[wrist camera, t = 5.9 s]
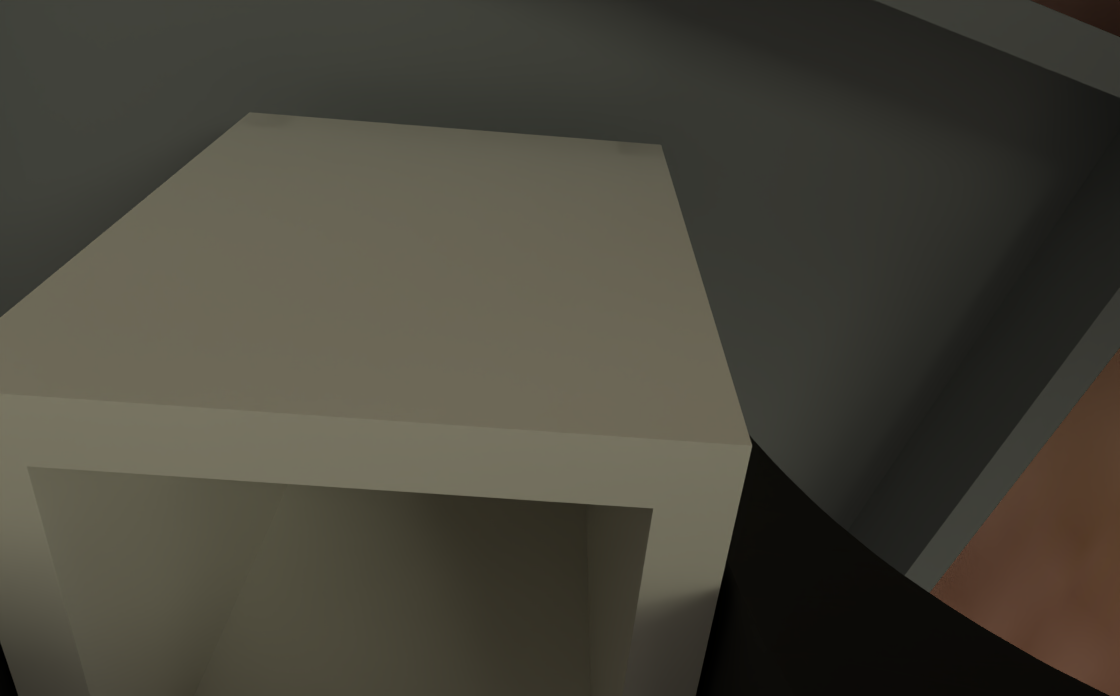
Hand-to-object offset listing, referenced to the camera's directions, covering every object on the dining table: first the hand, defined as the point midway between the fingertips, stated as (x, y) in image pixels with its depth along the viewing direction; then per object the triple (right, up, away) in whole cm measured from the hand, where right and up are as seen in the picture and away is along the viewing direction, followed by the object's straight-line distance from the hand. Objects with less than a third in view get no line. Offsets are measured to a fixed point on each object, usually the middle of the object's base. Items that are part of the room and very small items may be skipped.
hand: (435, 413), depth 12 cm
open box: (0, +1, +2) cm, 2 cm away
